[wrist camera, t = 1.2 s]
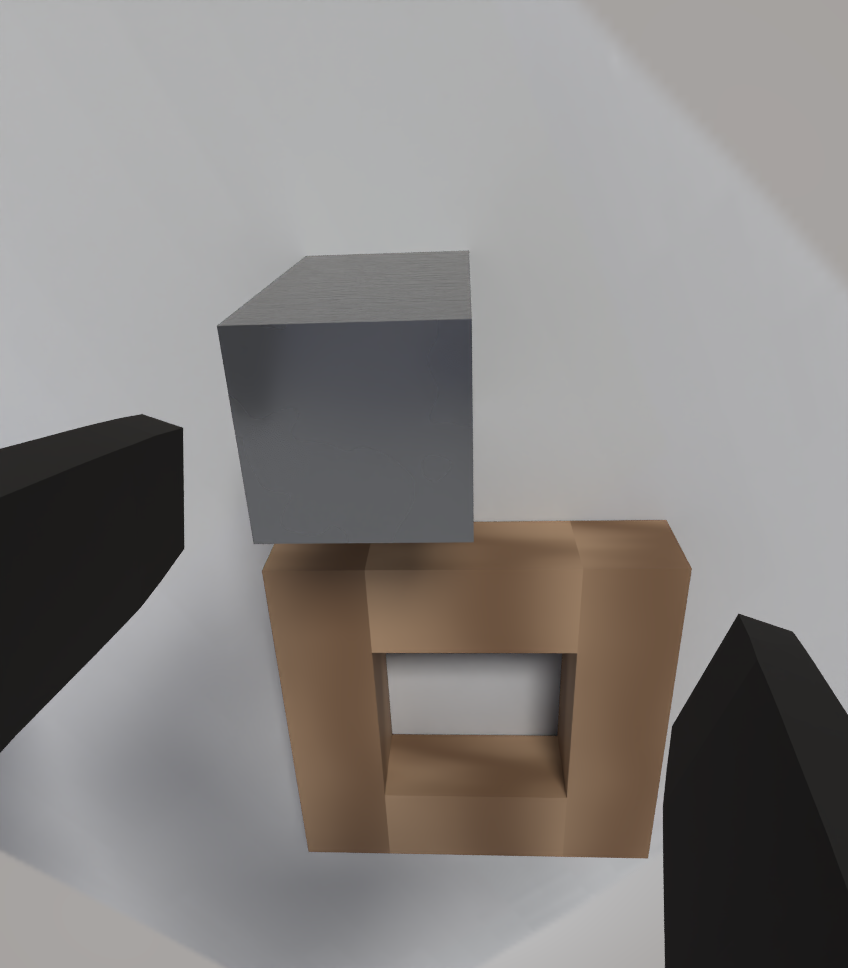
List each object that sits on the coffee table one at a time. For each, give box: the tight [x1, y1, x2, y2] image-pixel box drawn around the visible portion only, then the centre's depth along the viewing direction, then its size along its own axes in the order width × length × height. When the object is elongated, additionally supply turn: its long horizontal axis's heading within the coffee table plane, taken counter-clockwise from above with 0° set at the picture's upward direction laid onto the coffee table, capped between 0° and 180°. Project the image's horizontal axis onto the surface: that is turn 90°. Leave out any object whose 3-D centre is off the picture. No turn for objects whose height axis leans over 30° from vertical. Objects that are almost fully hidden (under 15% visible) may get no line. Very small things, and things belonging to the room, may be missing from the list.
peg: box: [217, 251, 474, 544], centre depth 15 cm, size 4×4×7 cm
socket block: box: [262, 520, 692, 858], centre depth 22 cm, size 11×11×2 cm
